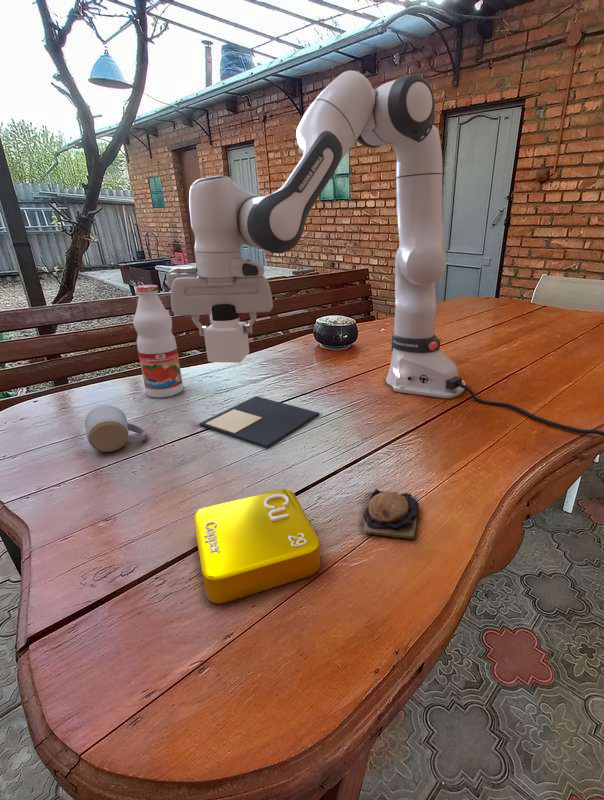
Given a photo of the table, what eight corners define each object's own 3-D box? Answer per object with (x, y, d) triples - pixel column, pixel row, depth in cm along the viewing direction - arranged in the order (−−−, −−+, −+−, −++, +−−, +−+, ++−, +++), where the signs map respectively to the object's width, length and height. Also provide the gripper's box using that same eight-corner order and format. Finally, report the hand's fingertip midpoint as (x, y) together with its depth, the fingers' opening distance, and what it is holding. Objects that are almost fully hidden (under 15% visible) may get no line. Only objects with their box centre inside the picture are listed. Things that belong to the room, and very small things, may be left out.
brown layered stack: (416, 542, 62) (418, 522, 60) (359, 534, 63) (360, 514, 62) (418, 498, 72) (420, 480, 70) (369, 493, 73) (369, 474, 71)
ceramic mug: (91, 458, 83) (83, 423, 80) (89, 441, 89) (81, 408, 86) (150, 445, 88) (144, 412, 85) (144, 430, 94) (138, 398, 91)
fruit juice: (182, 383, 121) (166, 282, 110) (184, 395, 113) (167, 287, 102) (146, 388, 117) (126, 284, 106) (146, 400, 109) (124, 289, 98)
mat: (319, 414, 102) (319, 411, 102) (267, 448, 87) (267, 444, 87) (256, 398, 111) (255, 395, 111) (199, 425, 96) (198, 422, 96)
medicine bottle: (250, 352, 96) (244, 299, 91) (240, 363, 89) (234, 305, 84) (219, 352, 96) (212, 298, 91) (207, 362, 90) (199, 305, 85)
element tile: (195, 532, 64) (191, 506, 62) (292, 507, 69) (290, 483, 67) (208, 610, 51) (203, 580, 49) (324, 572, 56) (324, 544, 55)
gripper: (162, 269, 80) (173, 340, 86) (271, 267, 85) (275, 335, 90) (166, 266, 86) (177, 333, 91) (268, 264, 90) (272, 328, 96)
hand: (226, 334), depth 91 cm, fingers closed on medicine bottle, 8 cm apart
